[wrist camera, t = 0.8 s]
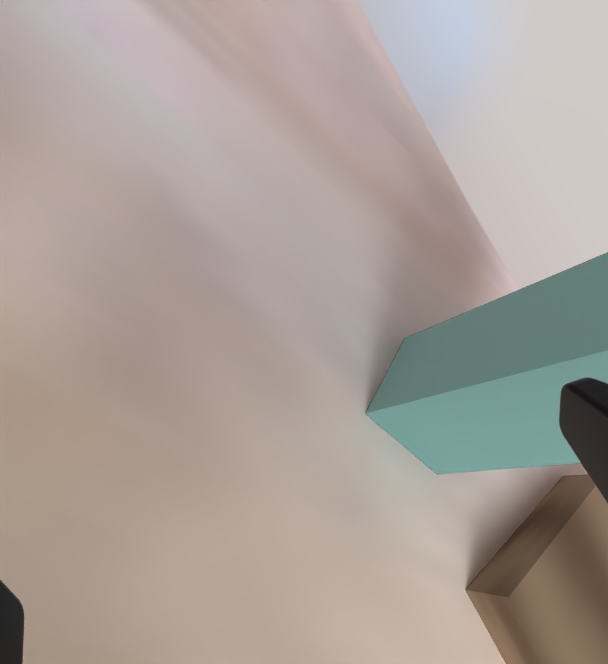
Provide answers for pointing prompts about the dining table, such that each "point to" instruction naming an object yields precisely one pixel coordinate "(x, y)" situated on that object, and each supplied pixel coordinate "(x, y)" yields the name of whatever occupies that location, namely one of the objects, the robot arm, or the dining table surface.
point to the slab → (551, 581)
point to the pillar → (498, 376)
